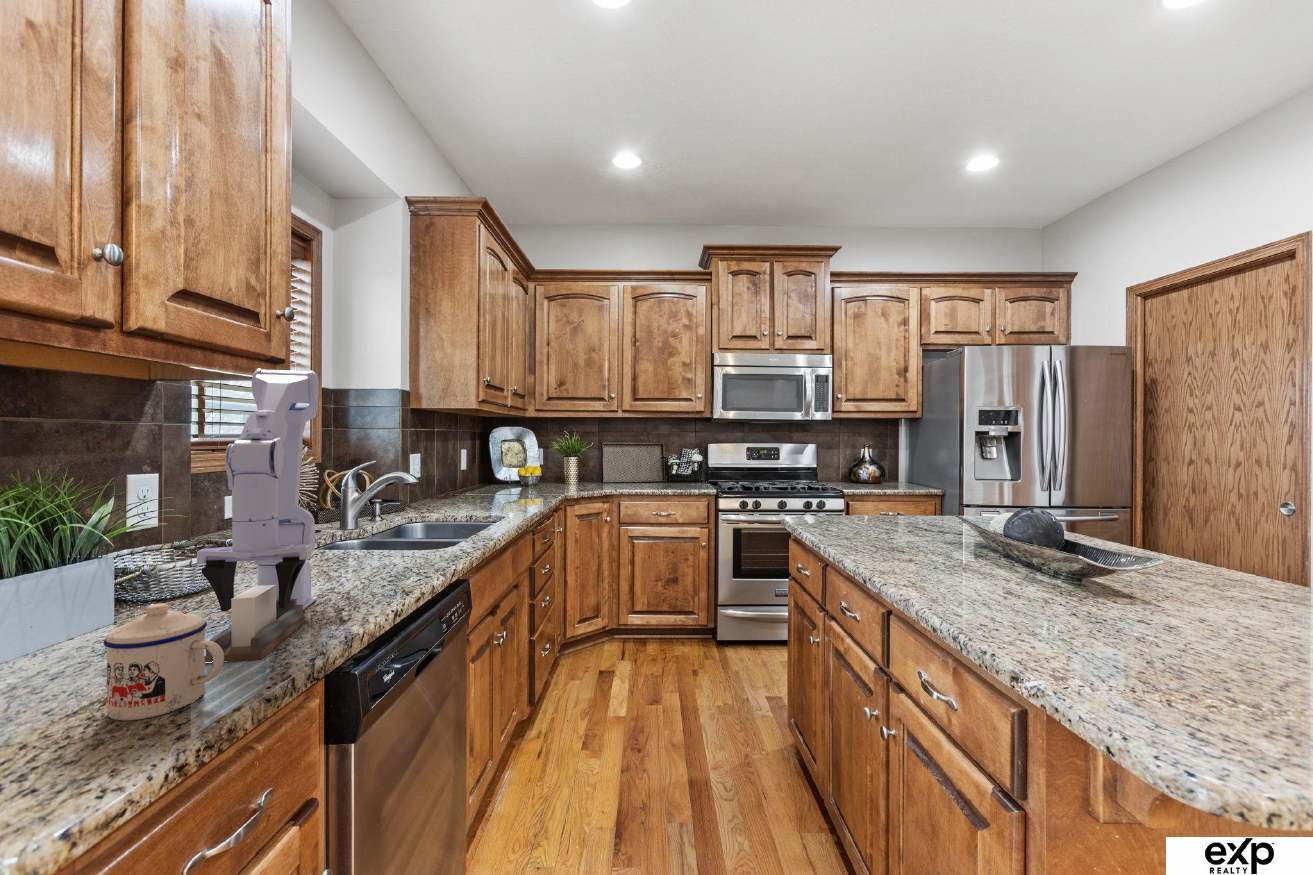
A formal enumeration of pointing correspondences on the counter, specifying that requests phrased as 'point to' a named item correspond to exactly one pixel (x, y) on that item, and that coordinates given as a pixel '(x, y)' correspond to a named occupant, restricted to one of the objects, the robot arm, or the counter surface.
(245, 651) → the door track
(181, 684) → the teacup with lid
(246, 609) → the beige rectangular block
